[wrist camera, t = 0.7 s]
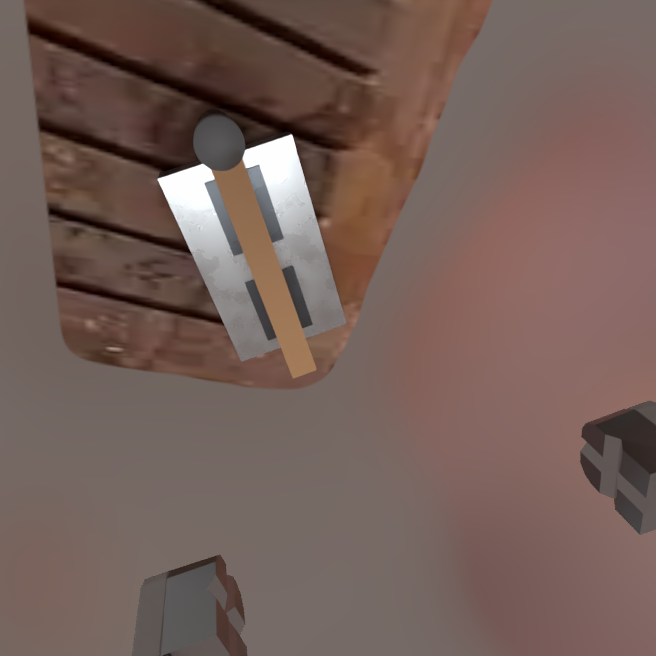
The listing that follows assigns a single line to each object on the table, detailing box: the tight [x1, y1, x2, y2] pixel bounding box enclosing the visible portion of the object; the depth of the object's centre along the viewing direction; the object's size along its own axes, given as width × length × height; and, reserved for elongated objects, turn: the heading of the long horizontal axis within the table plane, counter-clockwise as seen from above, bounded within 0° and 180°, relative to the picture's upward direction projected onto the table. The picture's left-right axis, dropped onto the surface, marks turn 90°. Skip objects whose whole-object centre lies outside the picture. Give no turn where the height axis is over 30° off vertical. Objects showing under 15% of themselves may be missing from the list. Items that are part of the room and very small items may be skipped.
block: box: [158, 110, 346, 362], centre depth 44 cm, size 24×12×6 cm, turn 15°
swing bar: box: [193, 114, 317, 378], centre depth 40 cm, size 23×4×2 cm, turn 15°
